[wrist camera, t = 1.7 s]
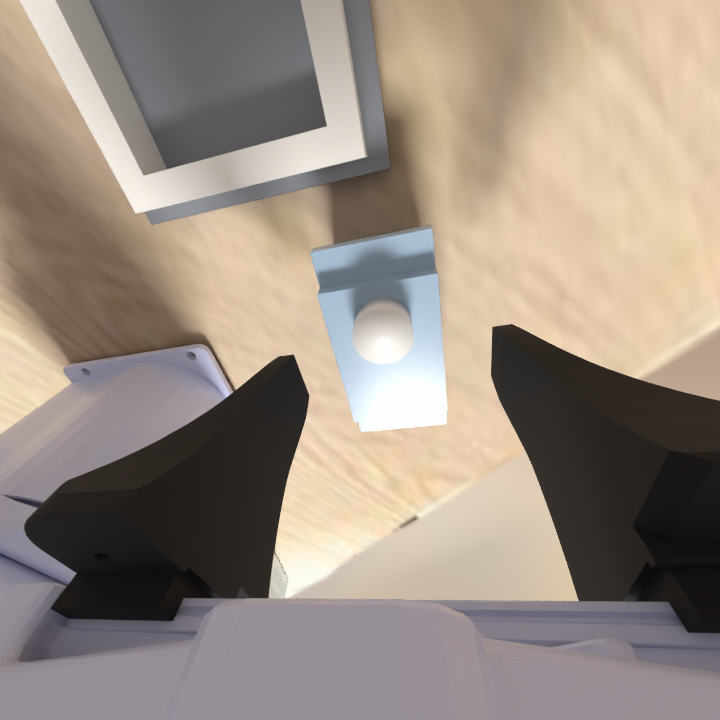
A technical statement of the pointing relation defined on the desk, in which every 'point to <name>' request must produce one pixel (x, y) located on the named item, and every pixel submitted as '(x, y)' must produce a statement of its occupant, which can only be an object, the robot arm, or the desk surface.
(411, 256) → the block
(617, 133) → the desk surface
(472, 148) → the desk surface
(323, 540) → the desk surface
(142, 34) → the board
